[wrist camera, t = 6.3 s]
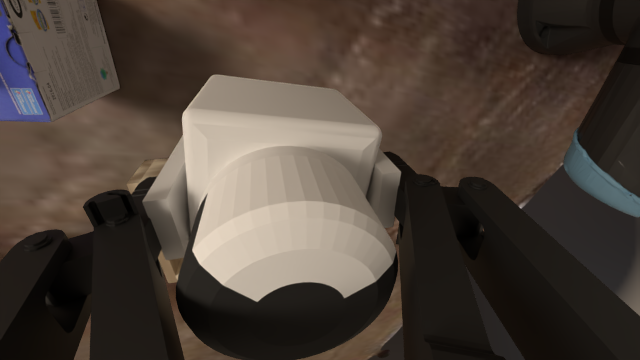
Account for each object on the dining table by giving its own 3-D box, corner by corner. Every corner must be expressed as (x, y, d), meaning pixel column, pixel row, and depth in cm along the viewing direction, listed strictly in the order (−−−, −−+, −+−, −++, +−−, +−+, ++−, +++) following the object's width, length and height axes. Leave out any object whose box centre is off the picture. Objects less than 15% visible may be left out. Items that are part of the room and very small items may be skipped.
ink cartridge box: (24, -24, 26) (-187, -62, 13) (93, -18, 27) (-43, -47, 15) (64, 88, 31) (-63, 135, 18) (122, 89, 32) (38, 134, 19)
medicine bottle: (320, 191, 20) (388, 375, 10) (212, 188, 18) (158, 408, 8) (339, 88, 17) (473, 202, 6) (209, 72, 15) (109, 193, 5)
